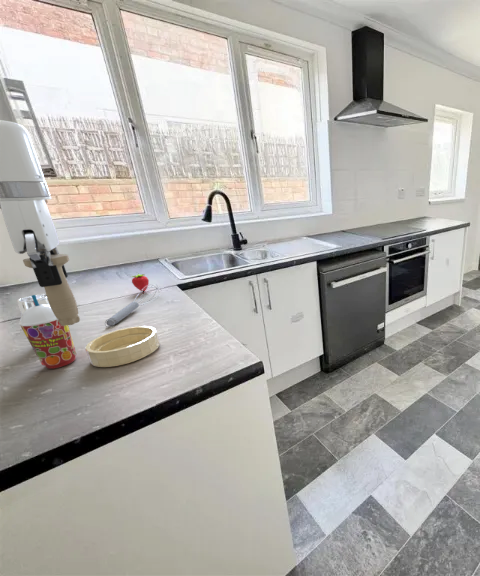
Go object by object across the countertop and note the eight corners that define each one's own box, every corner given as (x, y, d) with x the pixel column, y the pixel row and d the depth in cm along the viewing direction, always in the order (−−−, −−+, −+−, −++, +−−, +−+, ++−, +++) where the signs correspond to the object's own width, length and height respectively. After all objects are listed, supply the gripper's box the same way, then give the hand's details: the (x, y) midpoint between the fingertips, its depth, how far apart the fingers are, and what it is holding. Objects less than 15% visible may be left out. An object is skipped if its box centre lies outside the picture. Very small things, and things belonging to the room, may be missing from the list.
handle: (47, 325, 67) (21, 258, 62) (86, 315, 72) (64, 253, 67) (52, 331, 64) (24, 262, 60) (92, 321, 69) (69, 255, 65)
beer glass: (39, 350, 92) (19, 303, 87) (32, 344, 95) (13, 299, 90) (70, 340, 97) (53, 296, 93) (63, 335, 101) (46, 292, 96)
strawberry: (137, 295, 136) (131, 274, 132) (133, 292, 140) (127, 271, 137) (153, 292, 140) (147, 271, 137) (149, 288, 145) (143, 268, 141)
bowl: (88, 376, 79) (82, 359, 77) (94, 351, 91) (88, 336, 89) (161, 355, 88) (157, 340, 86) (158, 335, 100) (154, 321, 98)
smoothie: (34, 375, 79) (1, 303, 73) (45, 361, 86) (15, 294, 80) (78, 365, 84) (51, 296, 77) (84, 352, 90) (60, 287, 84)
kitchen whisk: (97, 330, 104) (91, 312, 102) (151, 296, 136) (148, 282, 134) (117, 328, 105) (111, 311, 103) (166, 295, 137) (163, 281, 135)
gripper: (7, 192, 64) (40, 276, 70) (-28, 193, 51) (16, 297, 57) (57, 191, 68) (84, 270, 74) (37, 192, 55) (72, 288, 61)
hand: (54, 281), depth 65 cm, fingers closed on handle, 5 cm apart
